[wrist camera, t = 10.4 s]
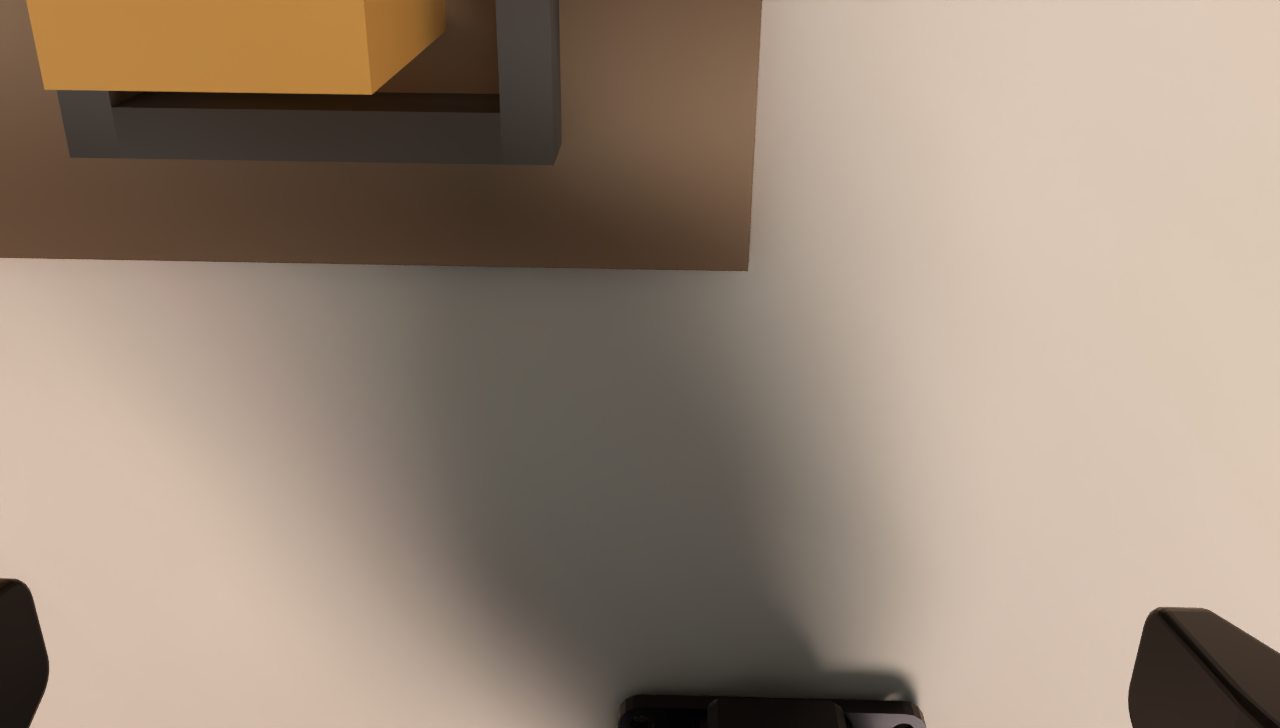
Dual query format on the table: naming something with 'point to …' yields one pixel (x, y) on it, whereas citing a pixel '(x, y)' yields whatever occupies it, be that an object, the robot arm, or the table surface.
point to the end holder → (413, 150)
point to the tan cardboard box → (230, 44)
